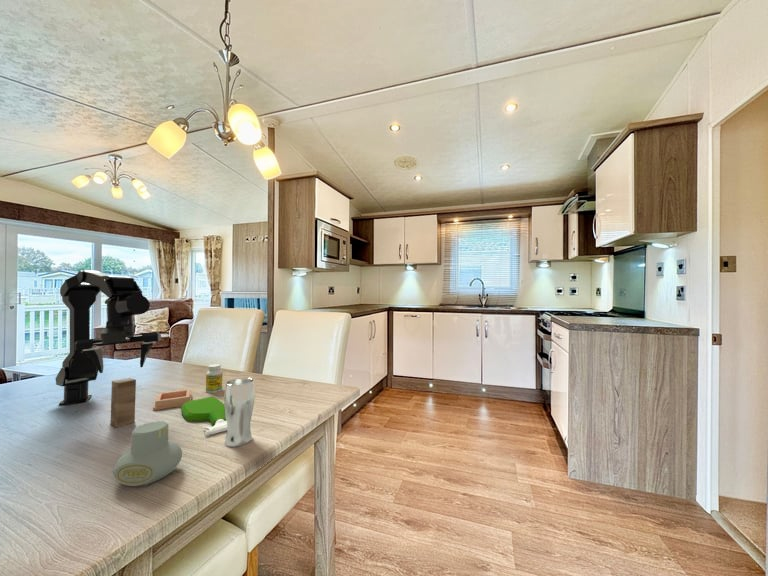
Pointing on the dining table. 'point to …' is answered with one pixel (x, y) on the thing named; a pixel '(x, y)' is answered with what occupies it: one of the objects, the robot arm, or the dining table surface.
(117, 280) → the robot arm
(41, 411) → the dining table surface
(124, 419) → the brown wooden block
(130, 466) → the air freshener
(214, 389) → the supplement bottle
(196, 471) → the dining table surface
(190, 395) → the jar dish
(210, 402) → the spray bottle
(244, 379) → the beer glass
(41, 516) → the dining table surface
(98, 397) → the dining table surface
